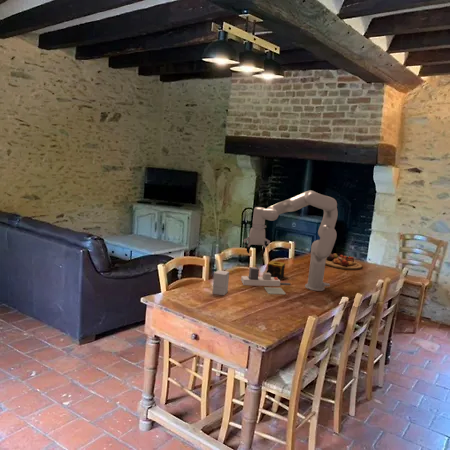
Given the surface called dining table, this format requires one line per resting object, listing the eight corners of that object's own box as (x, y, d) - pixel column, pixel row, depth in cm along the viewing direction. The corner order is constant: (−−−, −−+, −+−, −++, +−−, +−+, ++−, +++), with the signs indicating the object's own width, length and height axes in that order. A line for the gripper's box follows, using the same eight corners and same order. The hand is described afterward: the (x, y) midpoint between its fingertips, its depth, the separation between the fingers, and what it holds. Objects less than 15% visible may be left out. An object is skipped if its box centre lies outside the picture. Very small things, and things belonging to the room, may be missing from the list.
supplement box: (227, 292, 250) (229, 271, 248) (223, 295, 243) (225, 274, 241) (216, 289, 252) (218, 269, 250) (211, 293, 245) (213, 272, 243)
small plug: (268, 280, 274) (269, 272, 273) (270, 282, 270) (271, 274, 269) (262, 279, 273) (263, 272, 272) (264, 281, 269) (265, 274, 269)
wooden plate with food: (360, 273, 320) (362, 262, 319) (318, 265, 331) (320, 255, 330) (362, 264, 350) (364, 255, 348) (324, 258, 361) (325, 248, 359)
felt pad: (281, 288, 265) (281, 287, 265) (285, 294, 254) (286, 293, 254) (264, 288, 263) (264, 287, 263) (268, 293, 252) (268, 293, 252)
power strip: (288, 282, 278) (289, 276, 278) (291, 286, 271) (292, 280, 270) (241, 281, 273) (241, 274, 273) (243, 285, 266) (243, 278, 265)
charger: (256, 279, 273) (257, 266, 272) (257, 281, 268) (258, 269, 267) (248, 279, 272) (249, 266, 271) (250, 281, 267) (251, 268, 266)
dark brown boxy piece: (265, 277, 286) (267, 263, 285) (269, 274, 296) (271, 260, 294) (280, 280, 283) (281, 266, 281) (283, 276, 292) (285, 263, 290)
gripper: (270, 226, 269) (267, 252, 272) (243, 224, 267) (241, 251, 269) (273, 228, 262) (270, 255, 265) (245, 227, 259) (243, 253, 262)
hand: (255, 253), depth 267 cm, fingers open, 9 cm apart
